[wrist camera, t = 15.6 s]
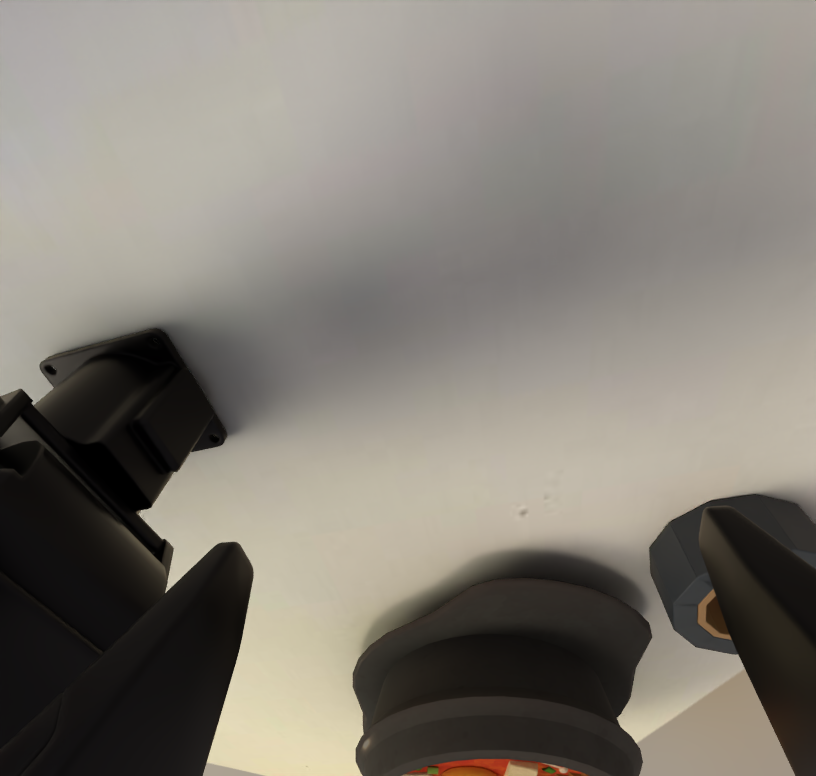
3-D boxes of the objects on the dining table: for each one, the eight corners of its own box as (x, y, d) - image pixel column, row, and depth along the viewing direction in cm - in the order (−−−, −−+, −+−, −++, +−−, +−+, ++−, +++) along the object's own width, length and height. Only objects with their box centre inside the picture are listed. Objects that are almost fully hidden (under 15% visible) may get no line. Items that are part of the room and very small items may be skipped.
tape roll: (651, 604, 31) (674, 661, 28) (646, 510, 27) (672, 566, 24) (803, 586, 29) (844, 644, 26) (823, 483, 25) (874, 539, 22)
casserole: (430, 512, 28) (426, 667, 21) (716, 599, 30) (799, 762, 23) (316, 711, 41) (290, 846, 34) (523, 759, 44) (539, 893, 37)
